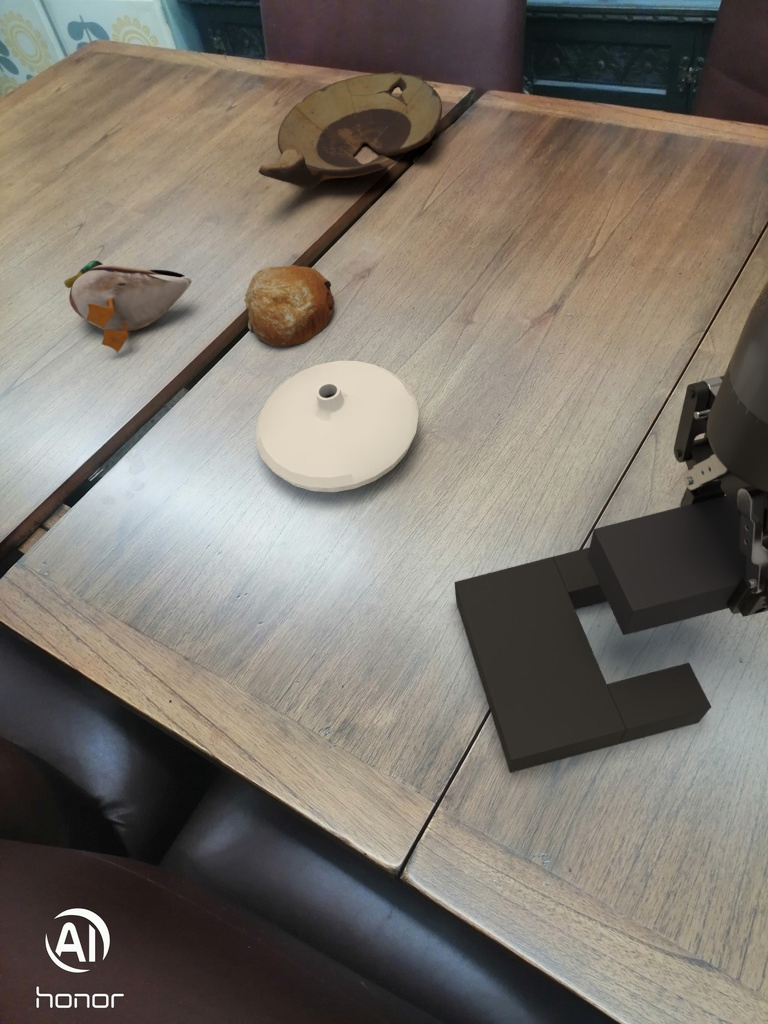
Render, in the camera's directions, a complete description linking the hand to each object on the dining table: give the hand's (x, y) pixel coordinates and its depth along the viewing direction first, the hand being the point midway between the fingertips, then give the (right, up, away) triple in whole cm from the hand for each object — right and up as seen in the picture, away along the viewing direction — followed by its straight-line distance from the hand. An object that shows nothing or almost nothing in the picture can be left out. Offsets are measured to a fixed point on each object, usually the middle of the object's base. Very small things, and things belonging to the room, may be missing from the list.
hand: (717, 561), depth 45 cm
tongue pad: (-2, -1, 0) cm, 3 cm away
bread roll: (-32, +26, +35) cm, 54 cm away
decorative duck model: (-51, +27, +39) cm, 70 cm away
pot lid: (-26, +10, +24) cm, 36 cm away
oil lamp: (-27, +52, +52) cm, 79 cm away
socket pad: (-7, -8, +9) cm, 14 cm away
